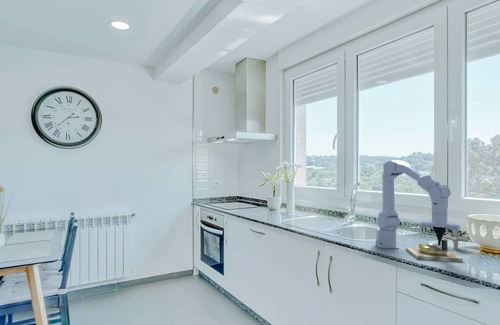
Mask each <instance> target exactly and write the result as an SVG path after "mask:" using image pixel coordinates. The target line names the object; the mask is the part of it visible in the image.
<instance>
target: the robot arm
mask: <svg viewBox="0 0 500 325" xmlns="http://www.w3.org/2000/svg"><path fill="white" fill-rule="evenodd" d="M382 169H383V171H382V176H381V177H382V210H381V211H380V212H379V213H378V218H377V222H376V223H377V226H378V228H376V230H375V245H376V246H377V247H378V248H379V249H380V248H381V249H397V250H398V249H400V247H399V246H397V230H398V228H399V226H400V225H401V221H400V218H399V213H398V212H397V211H396V210H395V179H396V178H397V177H399V176H400V175H403V174H405V175H407V176H408V177H410V178H411V179H413V180H415V181H416V183H417V185H418V187H420V188H422V189H423V190H424V191H425V192H427V193H428V196H429V198H430V201H431V221H430V222H429V221H427V222H426V221H420V222H419V226H420V228H432V229H433V231H434V233H435V235H436V238H437V244H438V245H439V246H441V240H443V238H444V236H445V233H446V230H453V229H456V230H458V231H460V230H461V224H453V223H448V198H449V197H450V196H451V189H450V188H449V187H448V185H445V184H441V183H440V182H439V181H436V180H435V179H433V178H432V176H431V175H426V174H424V175H422V174H421V173H420V172H419V171H417V170H416V169H415V168H413V167H412V166H411V165H410V163H408V162H406V161H405V160H389V159H388V160H387V161H386V162H385V163H384V164H383V168H382Z"/></svg>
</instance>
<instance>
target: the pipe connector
mask: <svg viewBox="0 0 500 325" xmlns="http://www.w3.org/2000/svg"><path fill="white" fill-rule="evenodd" d="M452 230H453V236H452V235H451V236H449V235H443V240H447V241H448V240H449V241H452V243H453V249H454V250H458V249H459V242H464V243H469V238H467V237H460V236H459V230H456V229H452Z"/></svg>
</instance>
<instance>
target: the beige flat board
mask: <svg viewBox="0 0 500 325" xmlns="http://www.w3.org/2000/svg"><path fill="white" fill-rule="evenodd" d="M405 251H406V252H407V253H408V254H410V255H411V256H412V257H414V259H416V260H417V261H418V260H419V261H438V262H453V263H454V262H456V263H458V262H459V263H463V262H464V259H463V257H461V256H459V255H457V254H456V253H454V252H452V251H451V250H449V249H448V253H447V254H446V255H442V256H438V255H429V254H424V253H421V252H419V247H410V246H408V247H407V246H406V247H405Z"/></svg>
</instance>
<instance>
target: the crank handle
mask: <svg viewBox="0 0 500 325" xmlns="http://www.w3.org/2000/svg"><path fill="white" fill-rule="evenodd" d="M448 247H449V246H448V240H447V239H442V240H441V246H439V245H438V242H437V243H436V242H426V243H421V244H420V243H419V244H418V248H419V252H421V253H424V254H429V255H438V256H442V255H446V254H447V253H448V250H449V248H448Z"/></svg>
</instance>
